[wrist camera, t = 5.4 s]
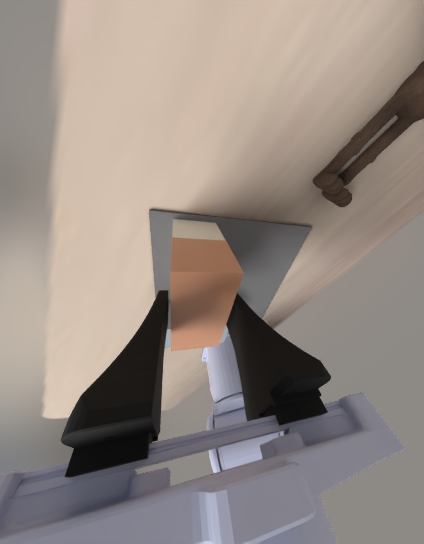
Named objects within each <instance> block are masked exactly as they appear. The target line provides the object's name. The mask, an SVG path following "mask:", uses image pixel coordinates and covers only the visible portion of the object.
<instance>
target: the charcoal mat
mask: <svg viewBox="0 0 424 544" xmlns="http://www.w3.org/2000/svg"><path fill="white" fill-rule="evenodd" d="M149 217H150V230H151V243H152V256H153V269H154V282H155V295H156V296H157V294H158V291H159V290H168V294H169V302H171V291H170V269H171V247H172V233H173V219H181V220H191V221H202V222H212V223H216V224H217V226H218V228H219V229H220V231H221V233H222V235H223V237H224V239H225V240H226V241H227V243H228V245H229V247H230V249H231V250H232V252H233V254H234V256H235V258H236V259H237V261H238V263H239V265H240V267H241V268H242V270H243V272H244V273H243V276H242V279H241V282H240V285H239V288H238V291H237V293H238V294H239V295H240V296H241V298H242V299H243V300H244V301H245V302H246V303H247V304H248V306H249V307H250V308H251V309H252V310H253V311H254V312H255V313H256V314H257V315H258V316H259V317H260V318H261V319H262V317H263V316H264V314H265V312H266V310H267V308H268V306H269V305H270V303H271V301H272V299H273V297H274V296H275V294H276V292H277V290H278V288H279V287H280V285H281V283H282V281H283V279H284V278H285V276H286V274H287V272H288V270H289V269H290V267H291V265H292V263H293V261H294V259H295V258H296V256H297V254H298V252H299V250H300V249H301V247H302V245H303V243H304V241H305V240H306V238H307V236H308V234H309V232H310V231H311V229H312V227H309V226H300V225H291V224H281V223H272V222H262V221H253V220H243V219H234V218H224V217H215V216H206V215H196V214H187V213H177V212H168V211H158V210H149Z"/></svg>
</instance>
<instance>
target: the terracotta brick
mask: <svg viewBox="0 0 424 544" xmlns="http://www.w3.org/2000/svg"><path fill="white" fill-rule="evenodd" d="M243 273H244V272H243V270H242V268H241V267H240V265H239V263H238V261H237V259H236V258H235V256H234V254H233V252H232V250H231V249H230V247H229V245H228V243H227V241H223V240H207V239H190V238H174V237H172V247H171V269H170V291H171V351H176V350H186V349H196V348H205V347H215V346H219V344H220V341H221V338H222V335H223V332H224V329H225V326H226V323H227V321H228V318H229V315H230V312H231V309H232V306H233V303H234V300H235V297H236V294H237V291H238V288H239V285H240V282H241V279H242V276H243Z"/></svg>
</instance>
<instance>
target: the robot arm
mask: <svg viewBox="0 0 424 544" xmlns="http://www.w3.org/2000/svg"><path fill="white" fill-rule="evenodd" d="M168 312H169V294H168V290H159V291H158V294H157V296H156V299H155V301H154V303H153V305H152V307H151V309H150V311H149V313H148V315H147V316H146V318H145V320H144V321H143V323H142V325H141V326H140V328H139V329H138V331H137V332H136V334H135V335H134V336H133V338H132V339H131V340H130V342H129V343H128V344H127V346H126V347H125V348H124V349H123V351H122V352H121V353H120V354H119V356H118V357H117V358H116V359H115V360H114V361H113V362H112V363H111V365H110V366H109V367H108V368H107V369H106V370H105V371H104V372H103V373H102V375H101V376H100V377H99V378H98V379H97V380H96V381H95V382H94V383H93V384H92V385H91V386H90V387H89V388H88V389H87V390H86V391H85V392H84V393H83V394H82V395H81V397H80V398H79V400H78V402H77V403H76V405H75V407H74V409H73V411H72V413H71V415H70V417H69V420H68V422H67V425H66V427H65V430H64V432H63V435H62V438H61V442H62V443H63V444H64V445H67V446H70V447H72V448H74V450H73V453H72V456H71V459H70V462H68V463H63V464H59V465H54V466H50V467H45V468H41V469H37V470H32V471H28V472H23V471H8V472H3V473H0V544H339V543H338V541H337V539H336V536H335V534H334V531H333V529H332V526H331V524H330V521H329V519H328V517H327V514H326V512H325V509H324V507H323V505H322V502H321V500H320V497H319V495H321V494H323V493H325V492H326V491H328V490H330V489H332V488H334V487H335V486H337V485H339V484H341V483H342V482H344V481H346V480H348V479H350V478H352V477H353V476H355V475H357V474H359V473H360V472H362V471H364V470H366V469H368V468H369V467H371V466H373V465H375V464H377V463H378V462H380V461H382V460H384V459H386V458H389V457H391V456H393V455H396V454H398V453H400V452H403V451H406V448H405V447H404V445H403V444H402V443H401V441H400V440H399V439H398V438H397V436H396V435H395V434H394V432H393V431H392V430H391V429H390V427H389V426H388V425H387V423H386V422H385V421H384V419H383V418H382V417H381V416H380V414H379V413H378V412H377V410H376V409H375V408H374V406H373V405H372V404H371V403H370V401H369V400H368V399H367V397H366V396H365V395H364V393H357V394H352V395H349V396H345V397H343V398H341V399H340V400H339V401H334V402H330V403H325V404H323V402H322V401H321V399H320V396H321V393H320V391H319V390H318V388H320V387H321V386H323V385H324V384H326V383H327V382H328V381H330V379H331V376H330V374H329V373H328V371H327V370H326V368H325V367H324V366H323V364H322V363H321V361H320V360H318V359H316V358H315V357H313V356H311V355H309V354H308V353H306V352H304V351H303V350H301V349H300V348H298V347H297V346H295V345H294V344H292V343H291V342H289V341H288V340H286V339H285V338H283V337H282V336H281V335H280V334H278V333H277V332H276V331H275V330H273V329H272V328H271V327H270V326H269V325H268V324H266V323H265V322H264V321H263V320H262V319H261V318H260V317H259V316H258V315H257V314H256V313H255V312H254V311H253V310H252V309H251V308H250V307H249V306H248V304H247V303H246V302H245V301H244V300H243V299H242V298H241V296H240V295H239V294H238V293H237V294H236V297H235V300H234V303H233V306H232V309H231V312H230V315H229V318H228V321H227V323H226V325H227V328H228V332H229V333H227V336H226V339H225V341H224V343H220V344H219V346H215V347H205V348H204V351H203V355H202V359H201V360H202V361H203V362H204V361H207V368H208V375H209V382H210V389H211V394H212V397H213V399H214V401H215V404H213V411H212V412H210V415H209V417H208V420H207V431H203V432H199V433H194V434H190V435H185V436H181V437H177V438H172V439H168V440H163V441H159V442H155V443H152V442H153V441H157V440H158V434H159V432H160V418H161V397H162V376H163V357H164V348H165V341H166V334H167V327H168ZM208 450H209V456H210V461H211V465H212V469H213V471H214V473H213V474H210V475H207V476H203V477H200V478H197V479H194V480H190V481H187V482H183V483H180V484H177V485H173V486H170V471H169V469H168V468H163V469H159V470H154V471H150V472H146V473H142V474H138V475H137V472H136V471H135V469H138V468H142V467H146V466H150V465H153V464H158V463H161V462H165V461H169V460H173V459H177V458H181V457H184V456H189V455H192V454H196V453H200V452H204V451H208Z"/></svg>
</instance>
